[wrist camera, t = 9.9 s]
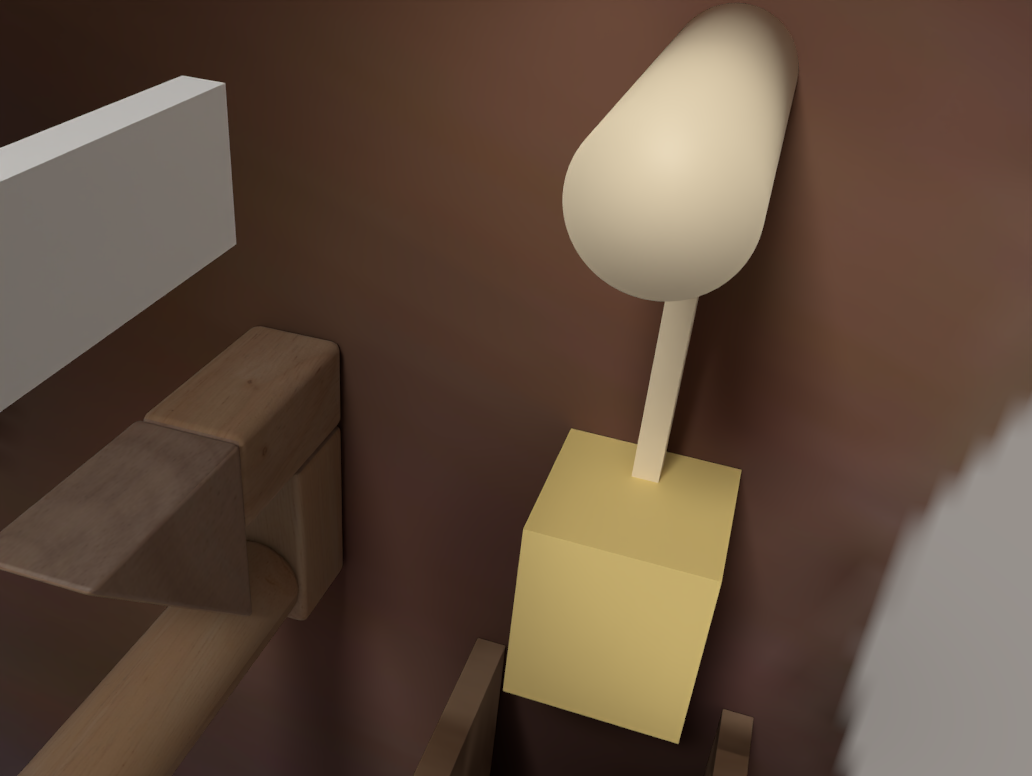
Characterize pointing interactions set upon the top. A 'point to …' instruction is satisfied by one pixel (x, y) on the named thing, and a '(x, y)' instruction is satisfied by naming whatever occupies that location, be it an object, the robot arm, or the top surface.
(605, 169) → the block
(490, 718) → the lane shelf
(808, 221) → the top surface
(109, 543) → the wooden block
